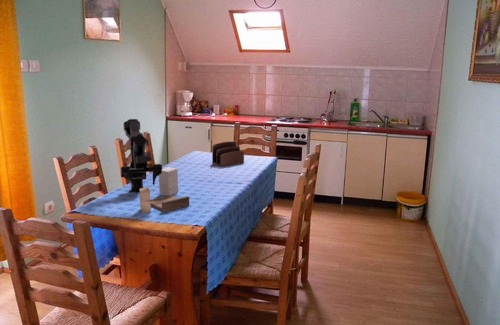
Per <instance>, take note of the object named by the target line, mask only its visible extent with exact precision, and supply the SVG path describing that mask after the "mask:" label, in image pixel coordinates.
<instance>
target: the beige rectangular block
mask: <svg viewBox="0 0 500 325" xmlns="http://www.w3.org/2000/svg"><path fill="white" fill-rule="evenodd" d="M150 200H151V190H150V188H149V187H143V188H141V189H140V192H139V202H140V203H139V204H140V212H141V213H142V214H143V213H151V212H152V206H151V202H150Z"/></svg>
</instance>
